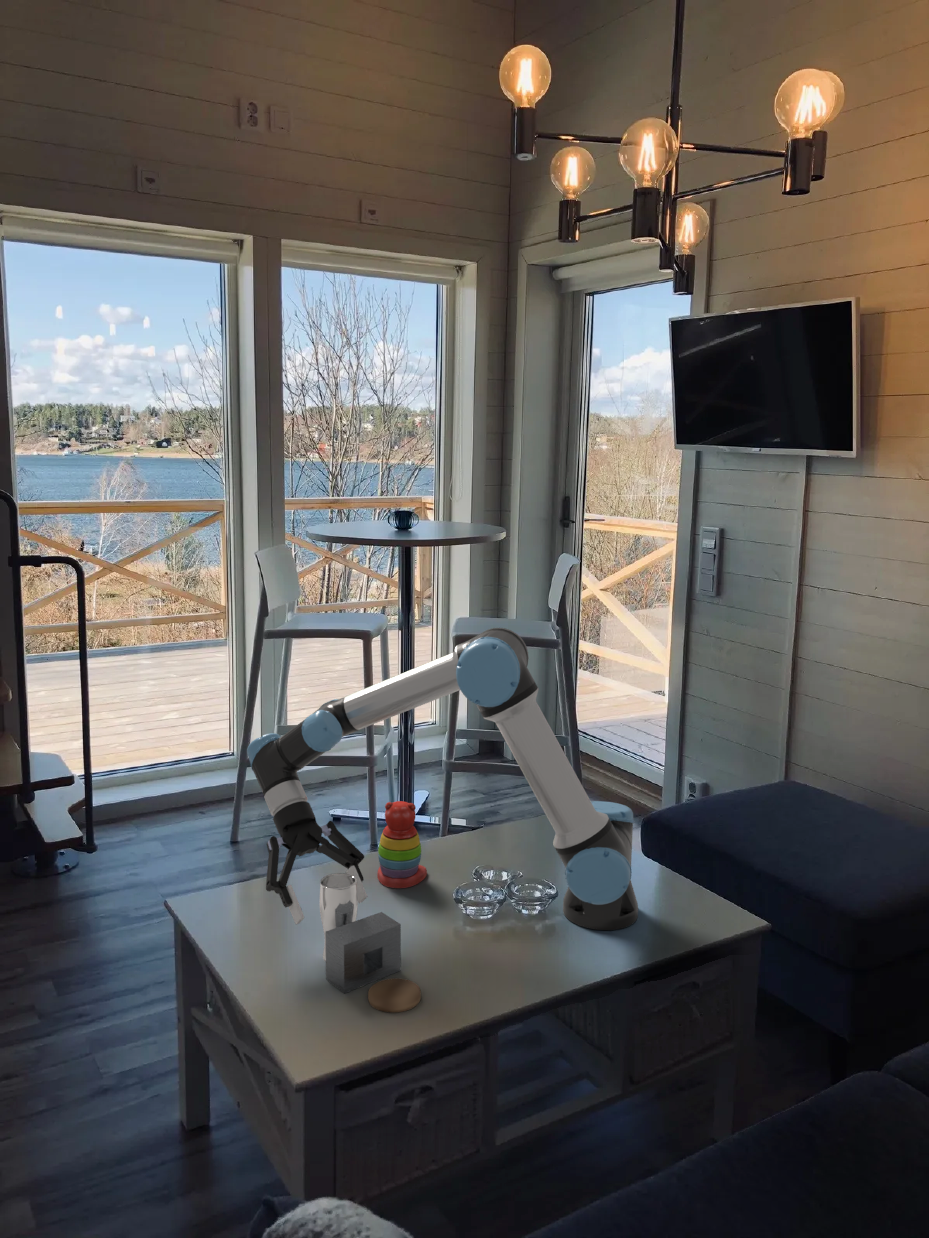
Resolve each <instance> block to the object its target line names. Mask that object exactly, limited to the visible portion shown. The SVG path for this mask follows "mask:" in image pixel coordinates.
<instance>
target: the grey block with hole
mask: <svg viewBox="0 0 929 1238" xmlns="http://www.w3.org/2000/svg"><path fill="white" fill-rule="evenodd" d="M401 928H402V927H401V923H399V921H397V920H395V919H393V918H392V917H390V915H389V916H388V915H387V914H386V913H384V912H383V911H381V912H377V913H375V914H372V915H369V916H367V917H363V918H360V919H358V920H357V919H356V921H354V922H351V923H349V924H346V925H343V926H340V927H337V928H335V929H332V930H329V931H326V932H325V936H324V942H325V941H326V962H325V979H326V980H327V981H328V982H329V983H330V984H332V985H333V986H334V987H336V988H337V989H338V990H339V991H341V992H342V993H343V994H347V993H349V992H351V991H354V990H357V989H359V988H361V987H364V986H366V985H369V984H371V983H373V982H376V981H378V980H379V981H380V980H381V979H383V978H386V977H388V976H391V975H393V974H396V973H398V972H400V971H401V970H402V968H401V967H402V966H401V965H402V963H401V962H402V960H401V959H402V957H401V956H402V954H401V953H402V952H401V950H402V946H401V944H402V943H401V941H402V939H401V938H402V937H401V936H402V935H401V933H402V930H401Z"/></svg>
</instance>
